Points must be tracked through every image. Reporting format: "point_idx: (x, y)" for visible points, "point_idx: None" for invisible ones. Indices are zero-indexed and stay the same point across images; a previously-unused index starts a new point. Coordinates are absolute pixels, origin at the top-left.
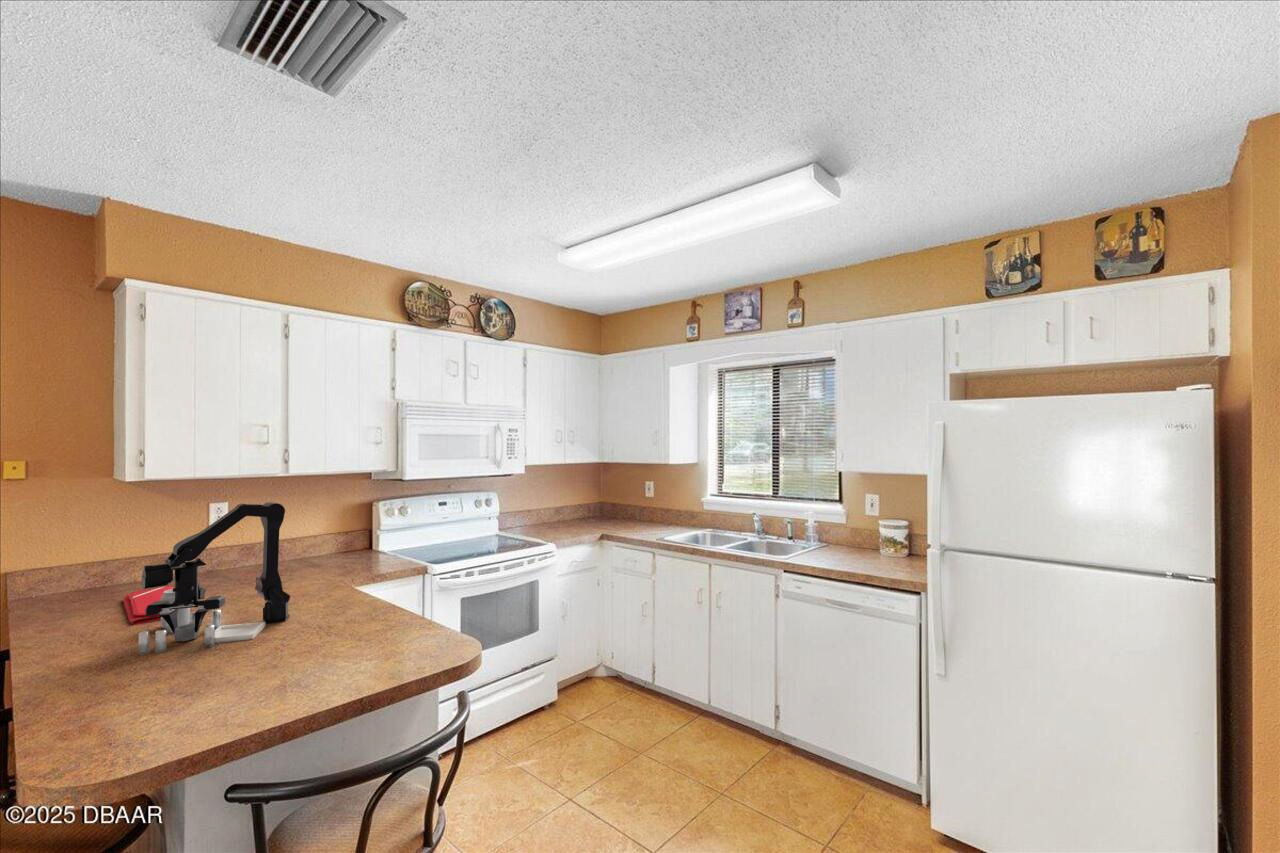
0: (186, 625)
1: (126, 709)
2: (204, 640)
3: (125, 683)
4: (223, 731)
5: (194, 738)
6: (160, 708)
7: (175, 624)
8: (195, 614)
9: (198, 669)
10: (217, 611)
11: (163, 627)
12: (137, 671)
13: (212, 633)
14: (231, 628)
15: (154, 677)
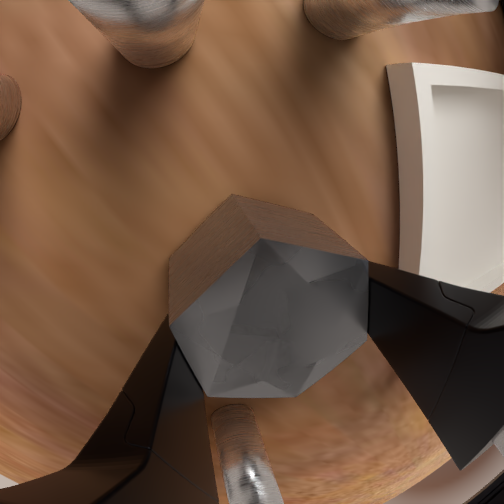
0: (250, 299)
1: (350, 499)
2: None
3: (298, 497)
4: (439, 464)
5: (422, 476)
6: (387, 484)
7: (191, 409)
8: (451, 449)
9: (411, 436)
10: (491, 7)
11: None
12: (281, 483)
13: None
14: (455, 88)
15: (341, 477)
